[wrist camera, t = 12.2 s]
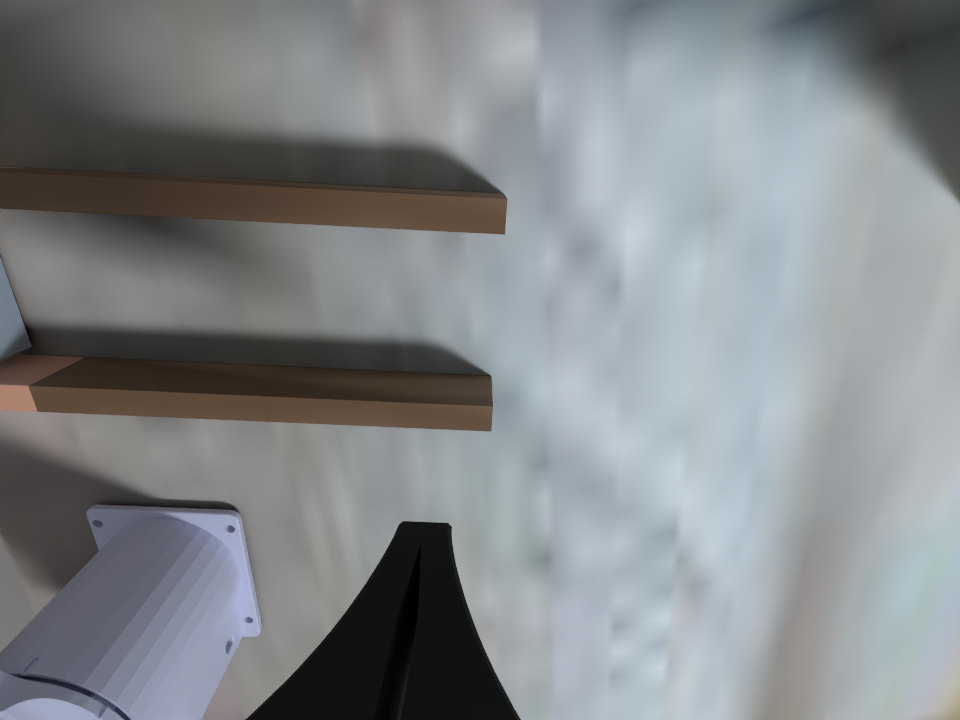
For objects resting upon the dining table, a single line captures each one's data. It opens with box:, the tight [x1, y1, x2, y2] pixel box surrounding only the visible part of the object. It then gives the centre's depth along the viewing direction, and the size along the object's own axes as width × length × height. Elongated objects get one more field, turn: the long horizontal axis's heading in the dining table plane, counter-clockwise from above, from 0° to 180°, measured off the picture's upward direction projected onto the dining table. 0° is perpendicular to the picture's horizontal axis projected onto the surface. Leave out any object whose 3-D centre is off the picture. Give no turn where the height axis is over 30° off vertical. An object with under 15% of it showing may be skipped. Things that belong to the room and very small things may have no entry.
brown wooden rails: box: [0, 166, 507, 431], centre depth 19 cm, size 9×22×3 cm, turn 87°
